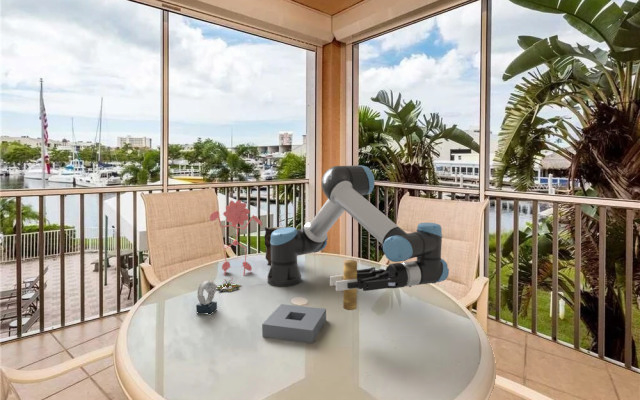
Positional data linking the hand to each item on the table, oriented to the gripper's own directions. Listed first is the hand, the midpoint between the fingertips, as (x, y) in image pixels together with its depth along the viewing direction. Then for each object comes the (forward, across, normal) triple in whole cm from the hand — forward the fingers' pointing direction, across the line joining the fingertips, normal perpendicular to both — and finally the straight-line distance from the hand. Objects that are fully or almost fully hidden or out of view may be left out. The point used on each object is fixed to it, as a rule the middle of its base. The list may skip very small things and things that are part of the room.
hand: (333, 283), depth 104 cm
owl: (-5, +86, -18) cm, 88 cm away
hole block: (+8, +12, -18) cm, 23 cm away
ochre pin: (-5, 0, -8) cm, 10 cm away
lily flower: (+25, +57, -19) cm, 65 cm away
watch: (+35, +35, -18) cm, 53 cm away
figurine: (+18, +80, -18) cm, 84 cm away
